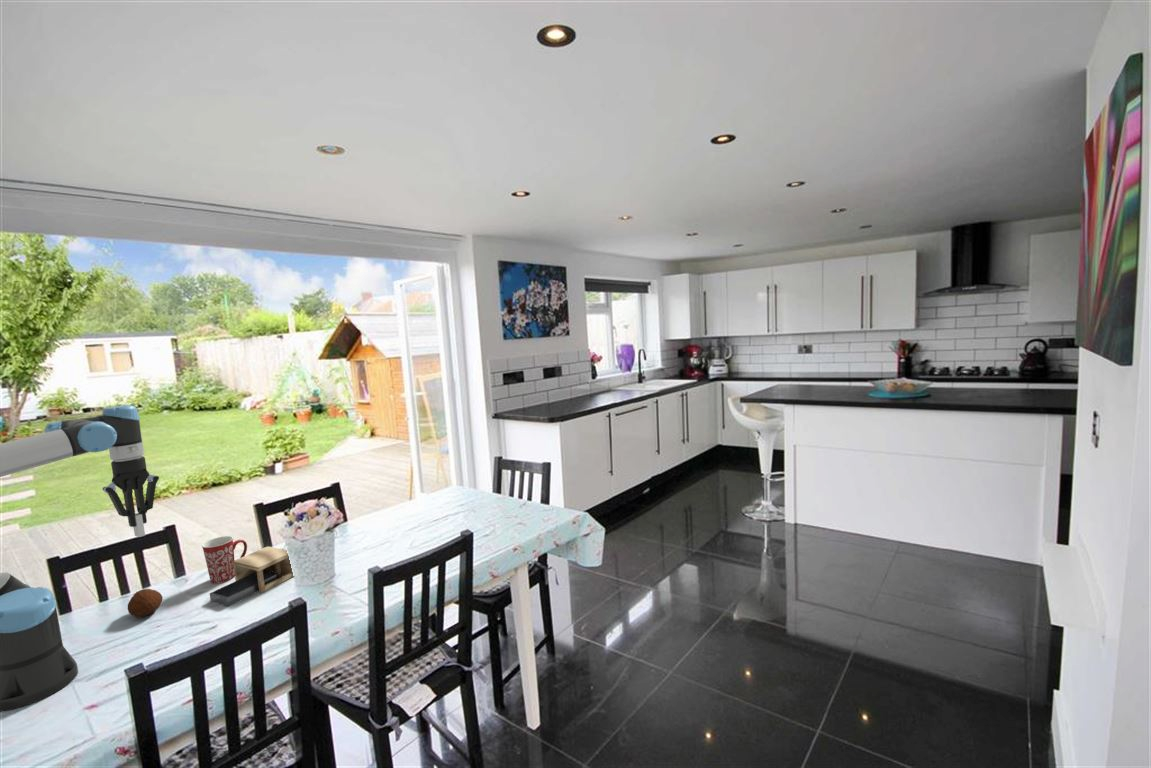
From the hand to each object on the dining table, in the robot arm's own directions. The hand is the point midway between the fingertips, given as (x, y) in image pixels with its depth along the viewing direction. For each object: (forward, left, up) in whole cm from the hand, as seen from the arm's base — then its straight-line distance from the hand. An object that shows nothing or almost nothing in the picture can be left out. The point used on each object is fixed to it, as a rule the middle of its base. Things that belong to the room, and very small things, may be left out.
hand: (139, 535), depth 151 cm
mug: (+24, +3, -26) cm, 35 cm away
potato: (0, +4, -26) cm, 26 cm away
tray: (+20, -13, -26) cm, 35 cm away
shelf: (+27, -13, -25) cm, 39 cm away
